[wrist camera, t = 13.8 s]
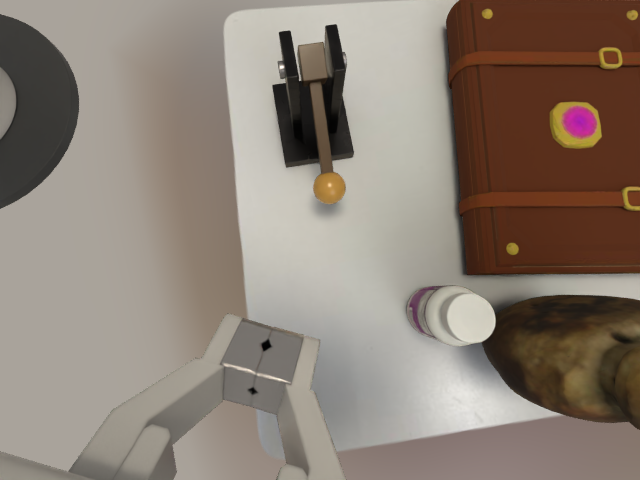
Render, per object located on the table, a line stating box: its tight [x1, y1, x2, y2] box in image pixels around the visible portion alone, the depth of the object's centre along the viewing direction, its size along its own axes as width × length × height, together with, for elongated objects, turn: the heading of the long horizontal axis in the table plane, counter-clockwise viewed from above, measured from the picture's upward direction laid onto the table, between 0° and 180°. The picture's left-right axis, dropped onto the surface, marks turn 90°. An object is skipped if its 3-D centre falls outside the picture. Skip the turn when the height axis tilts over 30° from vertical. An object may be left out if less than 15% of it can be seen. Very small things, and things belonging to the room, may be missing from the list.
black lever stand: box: [273, 24, 354, 167], centre depth 32 cm, size 10×8×12 cm
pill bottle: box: [407, 285, 496, 346], centre depth 30 cm, size 5×5×10 cm
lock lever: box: [297, 42, 346, 204], centre depth 30 cm, size 14×3×3 cm, turn 10°
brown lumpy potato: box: [482, 295, 640, 430], centre depth 25 cm, size 13×8×20 cm, turn 96°
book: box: [446, 0, 640, 275], centre depth 36 cm, size 23×32×5 cm
